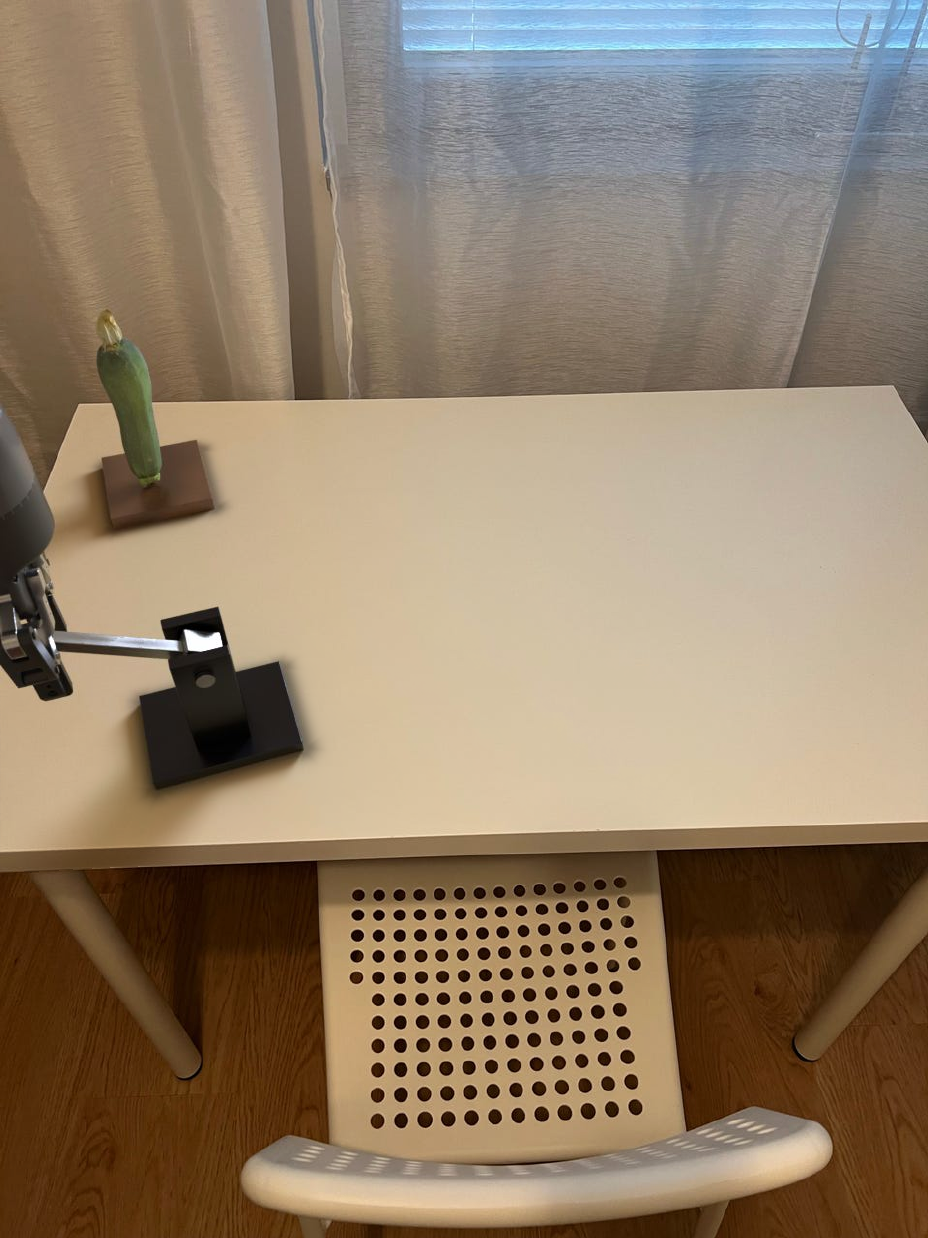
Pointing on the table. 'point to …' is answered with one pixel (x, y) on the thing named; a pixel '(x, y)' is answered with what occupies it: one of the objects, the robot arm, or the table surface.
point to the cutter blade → (134, 644)
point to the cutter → (215, 711)
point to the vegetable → (129, 398)
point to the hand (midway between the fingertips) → (55, 663)
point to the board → (158, 487)
